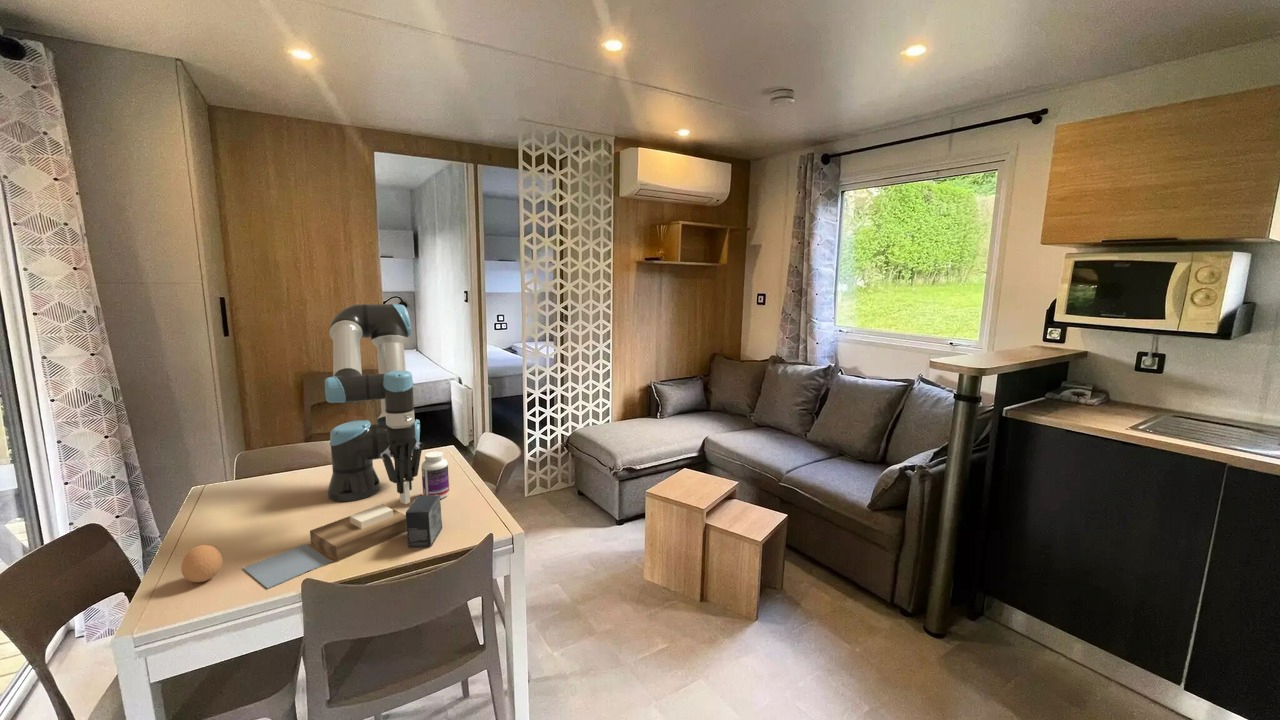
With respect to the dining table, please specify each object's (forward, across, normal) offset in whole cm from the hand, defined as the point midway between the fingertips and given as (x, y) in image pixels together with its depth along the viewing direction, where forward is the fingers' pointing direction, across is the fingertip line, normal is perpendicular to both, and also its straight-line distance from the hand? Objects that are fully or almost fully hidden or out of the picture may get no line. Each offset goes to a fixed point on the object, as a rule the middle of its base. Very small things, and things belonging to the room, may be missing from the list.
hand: (405, 502), depth 152 cm
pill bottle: (+6, +15, +7) cm, 18 cm away
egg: (+6, -45, +10) cm, 46 cm away
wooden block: (+6, -13, 0) cm, 14 cm away
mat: (+6, -31, +1) cm, 31 cm away
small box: (+6, -3, -14) cm, 15 cm away
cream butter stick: (+2, -10, 0) cm, 10 cm away
